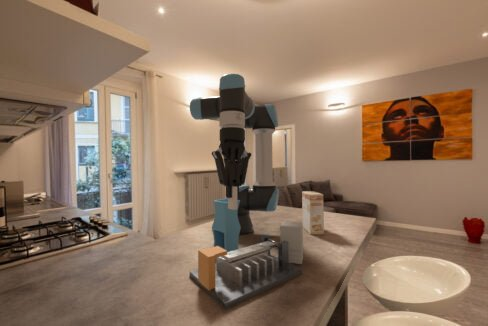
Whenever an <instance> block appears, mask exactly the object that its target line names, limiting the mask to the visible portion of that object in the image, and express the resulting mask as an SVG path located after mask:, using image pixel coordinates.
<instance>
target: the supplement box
mask: <svg viewBox="0 0 488 326" xmlns="http://www.w3.org/2000/svg"><path fill="white" fill-rule="evenodd" d="M303 228H304V227H303V226H302V221H289V220H287V221H286V220H283V221H282V223H281V224H280V225H279V231H280V234H279V236H280V240H279V242H282V241H287V242H288V255H289V263H290V264H295V265H296V264H297V265H303V259H304V234H303V231H304V230H303Z"/></svg>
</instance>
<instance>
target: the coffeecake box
mask: <svg viewBox="0 0 488 326" xmlns="http://www.w3.org/2000/svg"><path fill="white" fill-rule="evenodd" d="M301 196H302V197H301V202H302V204H301V205H302V207H301V212H302V216H301V217H302V220H301V222H302V226H303V228H304V229H305V230H306V232H307V233H308V234H309V235H320V236H321V235H325V227H324V224H325V222H324V221H325V220H324V218H325V217H324V214H325V213H324V211H325V210H324V194H323V193H320V192H317V191H313V190H309V191H308V190H307V191H306V190H305V191H301Z"/></svg>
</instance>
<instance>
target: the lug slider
mask: <svg viewBox="0 0 488 326" xmlns="http://www.w3.org/2000/svg"><path fill="white" fill-rule="evenodd" d="M197 254H198V255H197V260H198V261H197V263H198V264H197V269H198V281H199V282H200V283H201V284H202V285H203V286H204V287H206V288H207V289H208V290H211V289H213V288H215V263H216V259H217V257H222V256H224V255H227V251H226V250H225V249H223V248H221V247H219V246H215V247H213V246H212V247H209V248H201V249H198V250H197Z"/></svg>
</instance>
